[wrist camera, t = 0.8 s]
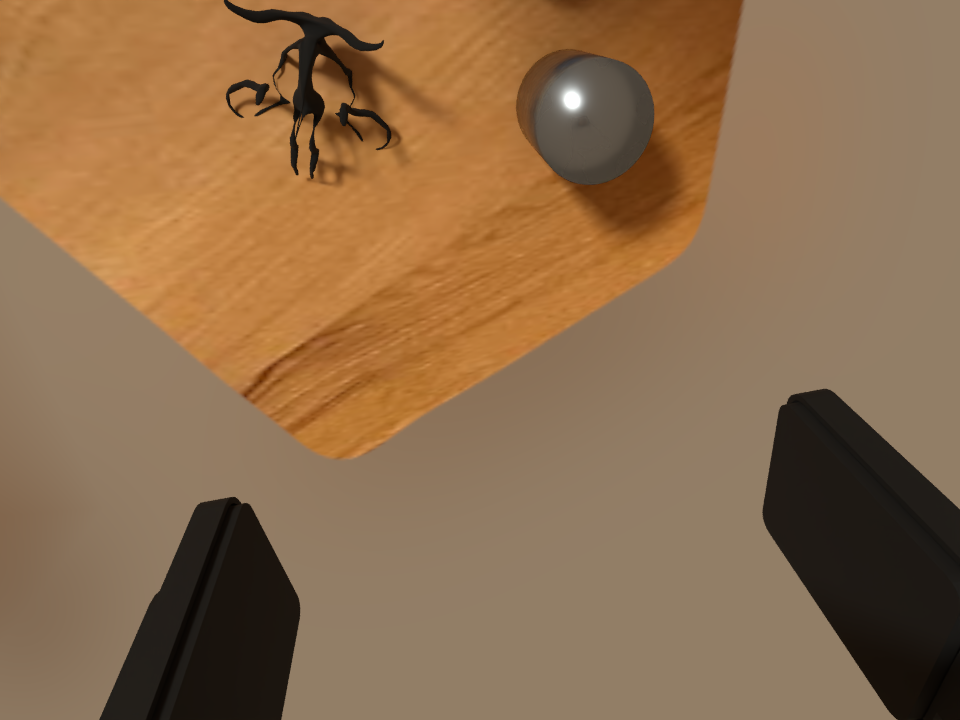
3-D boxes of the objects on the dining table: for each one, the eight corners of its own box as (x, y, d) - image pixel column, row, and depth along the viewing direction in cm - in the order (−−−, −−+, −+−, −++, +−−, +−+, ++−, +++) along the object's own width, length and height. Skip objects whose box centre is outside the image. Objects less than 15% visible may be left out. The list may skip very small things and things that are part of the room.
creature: (384, 178, 32) (410, 20, 26) (375, 230, 28) (404, 56, 23) (233, 144, 30) (229, -32, 25) (201, 194, 26) (188, -3, 21)
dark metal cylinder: (509, 60, 28) (530, 72, 23) (610, 39, 28) (653, 46, 23) (523, 164, 31) (544, 195, 26) (615, 145, 31) (655, 172, 26)
